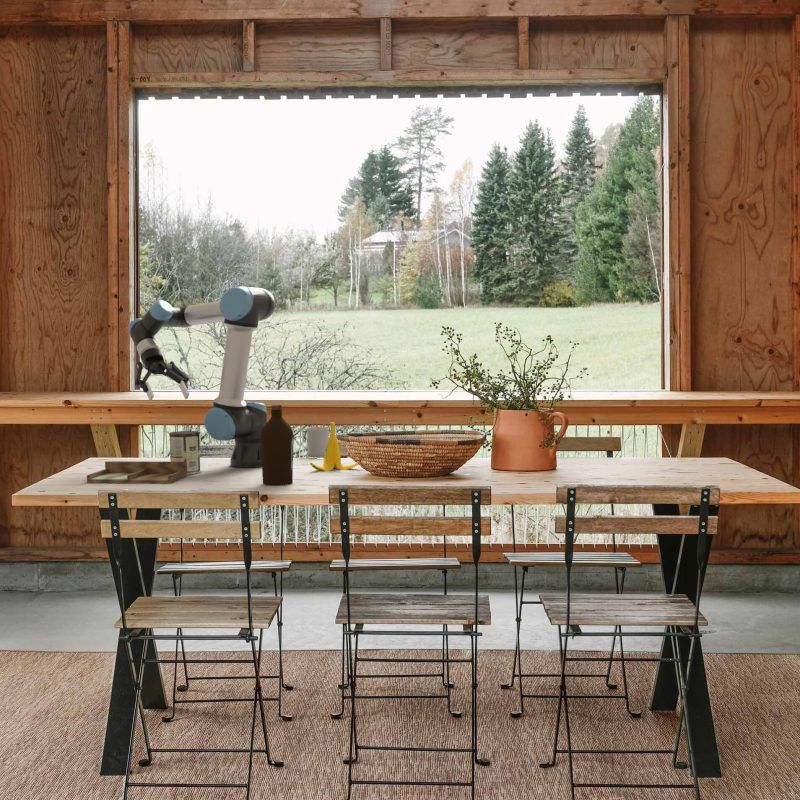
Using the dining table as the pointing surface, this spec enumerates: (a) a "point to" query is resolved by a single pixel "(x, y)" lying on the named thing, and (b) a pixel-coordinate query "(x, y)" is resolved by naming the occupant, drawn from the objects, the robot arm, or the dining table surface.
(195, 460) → the coffee can
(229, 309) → the robot arm
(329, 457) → the banana peel
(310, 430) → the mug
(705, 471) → the dining table surface
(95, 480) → the tray
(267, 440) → the olive oil
